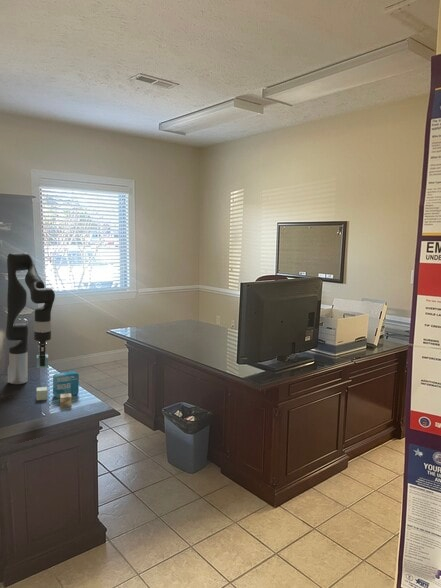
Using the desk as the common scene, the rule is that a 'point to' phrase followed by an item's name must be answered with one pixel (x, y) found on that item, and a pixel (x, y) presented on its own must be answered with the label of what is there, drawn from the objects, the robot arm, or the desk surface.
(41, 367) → the teal block
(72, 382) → the data package
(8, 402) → the desk surface
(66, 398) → the maple block
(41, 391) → the sage block
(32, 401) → the desk surface
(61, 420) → the desk surface
